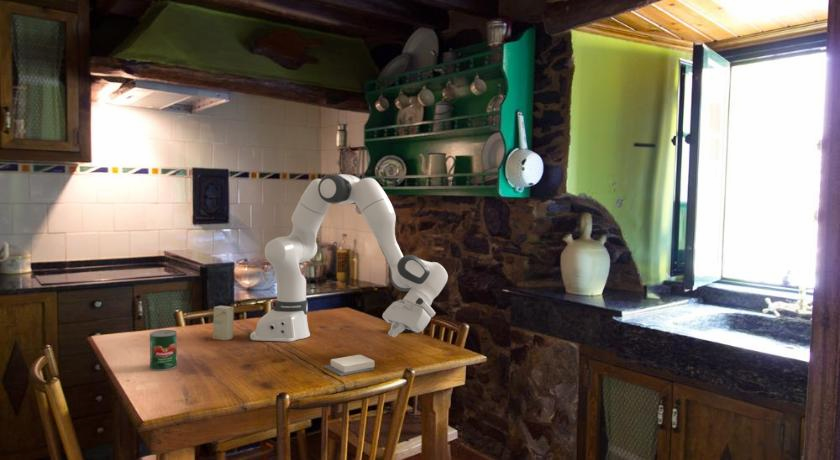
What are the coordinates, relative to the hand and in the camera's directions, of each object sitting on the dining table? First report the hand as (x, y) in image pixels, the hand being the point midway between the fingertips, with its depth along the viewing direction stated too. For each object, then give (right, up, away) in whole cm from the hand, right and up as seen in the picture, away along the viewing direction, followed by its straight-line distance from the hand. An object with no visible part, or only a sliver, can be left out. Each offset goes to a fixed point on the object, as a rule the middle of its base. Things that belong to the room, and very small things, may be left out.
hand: (391, 335), depth 201 cm
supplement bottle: (+5, -6, +43) cm, 44 cm away
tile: (-8, -7, -5) cm, 12 cm away
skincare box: (-65, -6, +26) cm, 70 cm away
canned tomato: (-72, -8, -11) cm, 73 cm away
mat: (-13, -9, -9) cm, 18 cm away
